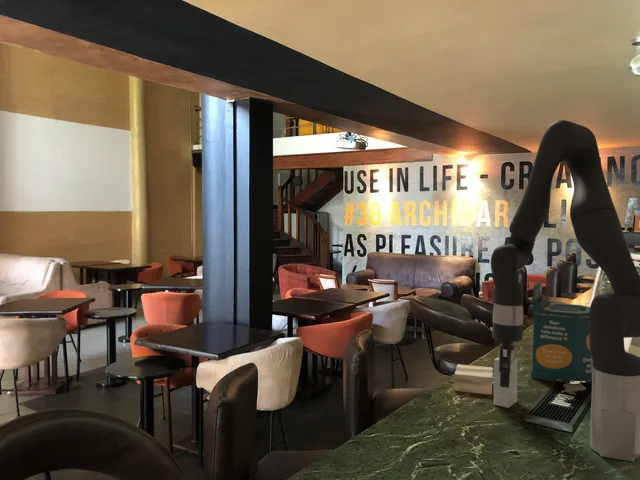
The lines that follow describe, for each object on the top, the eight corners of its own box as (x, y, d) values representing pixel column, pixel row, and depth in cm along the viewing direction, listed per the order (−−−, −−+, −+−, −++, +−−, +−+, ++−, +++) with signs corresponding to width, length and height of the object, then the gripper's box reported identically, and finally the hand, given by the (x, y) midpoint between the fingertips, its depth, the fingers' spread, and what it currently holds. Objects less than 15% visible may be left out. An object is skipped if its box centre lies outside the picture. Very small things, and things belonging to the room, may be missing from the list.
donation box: (539, 364, 173) (541, 279, 172) (594, 372, 165) (597, 283, 163) (530, 378, 159) (533, 285, 158) (590, 387, 151) (593, 290, 149)
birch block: (491, 395, 145) (492, 377, 144) (454, 391, 148) (454, 374, 148) (492, 384, 154) (492, 367, 154) (457, 380, 157) (457, 364, 157)
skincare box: (501, 398, 142) (502, 354, 141) (517, 401, 139) (518, 357, 139) (492, 404, 137) (493, 359, 137) (508, 408, 135) (509, 362, 134)
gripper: (521, 328, 129) (519, 392, 131) (524, 316, 142) (522, 375, 144) (489, 325, 132) (488, 388, 134) (495, 314, 145) (493, 372, 147)
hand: (505, 381), depth 139 cm, fingers open, 8 cm apart
